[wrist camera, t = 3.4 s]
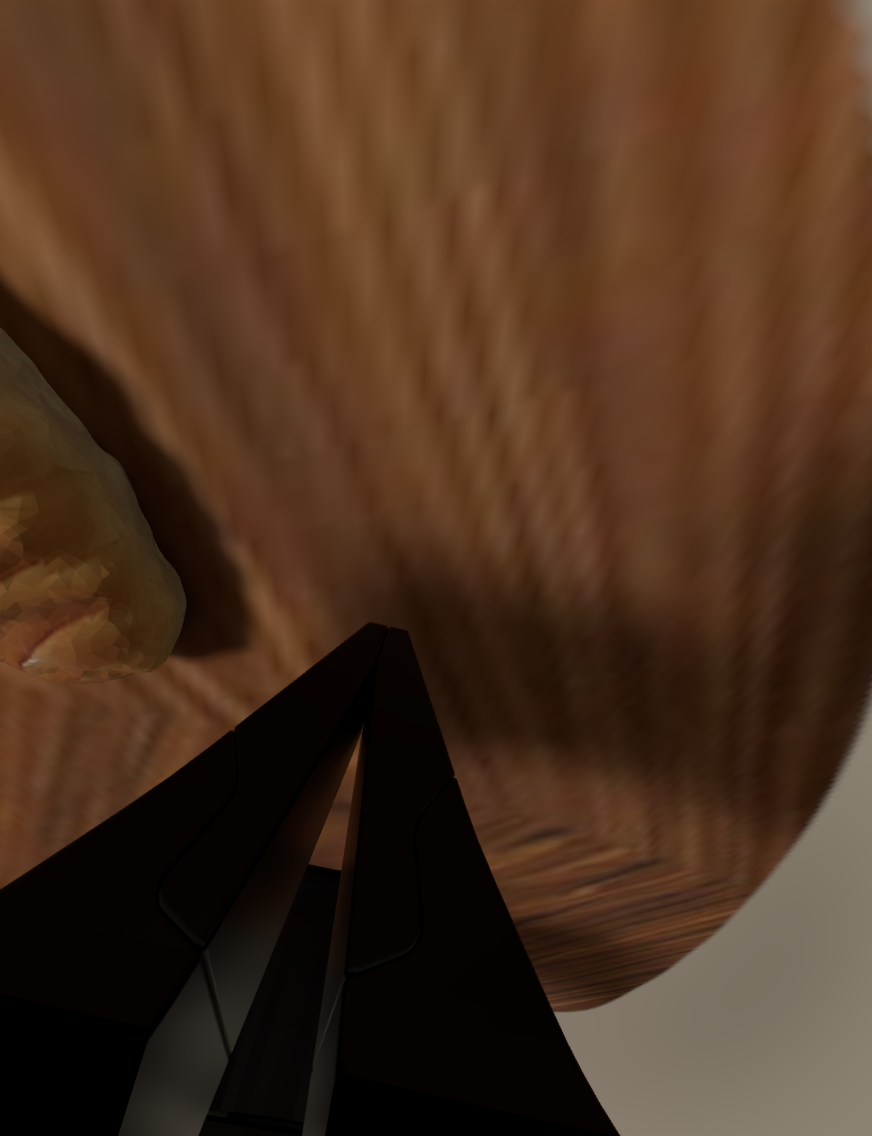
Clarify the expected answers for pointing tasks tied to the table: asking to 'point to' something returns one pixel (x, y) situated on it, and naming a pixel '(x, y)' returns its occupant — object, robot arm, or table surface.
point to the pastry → (73, 545)
